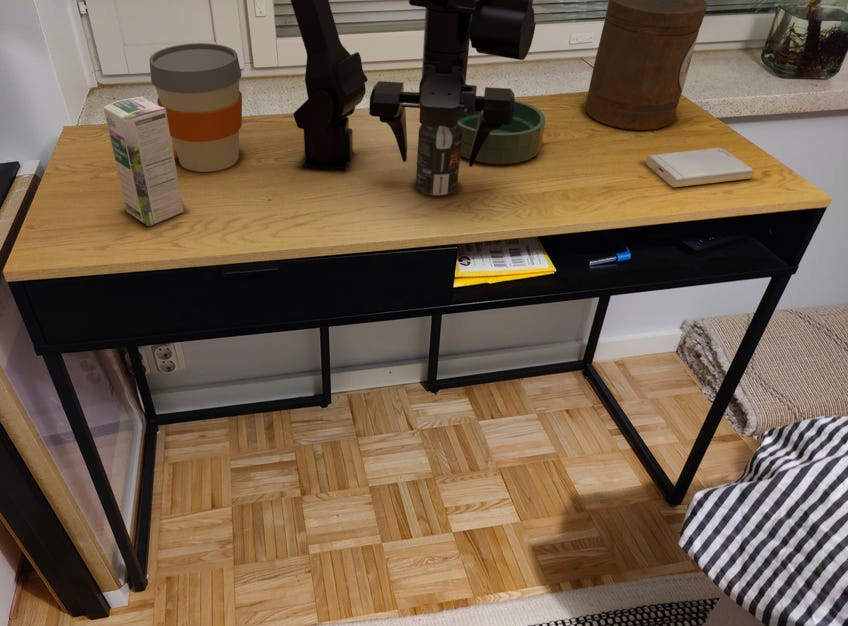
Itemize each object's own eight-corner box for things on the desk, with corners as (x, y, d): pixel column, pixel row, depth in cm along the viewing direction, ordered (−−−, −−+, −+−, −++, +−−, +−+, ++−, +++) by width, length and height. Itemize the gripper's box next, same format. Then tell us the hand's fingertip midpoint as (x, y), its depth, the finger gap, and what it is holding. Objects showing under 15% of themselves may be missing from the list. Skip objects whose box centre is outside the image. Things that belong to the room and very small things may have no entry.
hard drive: (720, 146, 108) (647, 153, 106) (754, 169, 102) (677, 177, 100) (716, 156, 109) (644, 163, 107) (750, 180, 103) (674, 188, 101)
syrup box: (125, 212, 95) (99, 105, 86) (163, 197, 98) (142, 93, 89) (147, 227, 92) (123, 119, 83) (186, 212, 95) (166, 106, 86)
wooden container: (691, 126, 118) (736, -20, 103) (610, 134, 115) (645, -14, 101) (645, 94, 129) (680, -42, 114) (570, 101, 126) (596, -38, 112)
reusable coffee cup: (151, 170, 105) (129, 66, 95) (191, 136, 114) (175, 39, 104) (228, 182, 102) (214, 76, 92) (263, 147, 111) (253, 47, 101)
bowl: (445, 163, 107) (447, 131, 104) (450, 125, 118) (452, 95, 114) (541, 169, 105) (547, 137, 102) (537, 130, 116) (542, 100, 113)
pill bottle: (454, 198, 98) (462, 119, 91) (412, 194, 99) (416, 115, 92) (459, 179, 103) (466, 102, 95) (418, 175, 104) (423, 98, 96)
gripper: (363, 64, 83) (363, 185, 94) (522, 72, 82) (504, 195, 92) (375, 35, 92) (374, 149, 102) (520, 42, 90) (504, 158, 100)
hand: (437, 163), depth 99 cm, fingers open, 9 cm apart
